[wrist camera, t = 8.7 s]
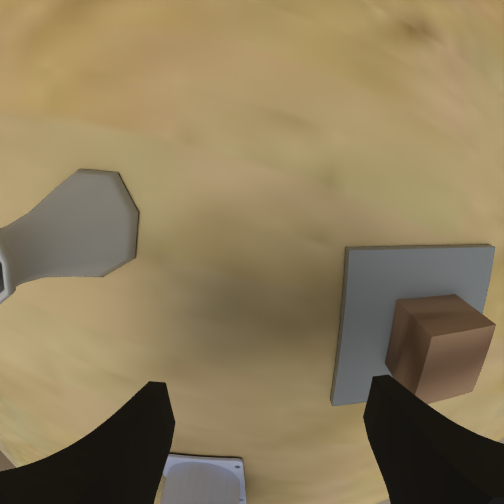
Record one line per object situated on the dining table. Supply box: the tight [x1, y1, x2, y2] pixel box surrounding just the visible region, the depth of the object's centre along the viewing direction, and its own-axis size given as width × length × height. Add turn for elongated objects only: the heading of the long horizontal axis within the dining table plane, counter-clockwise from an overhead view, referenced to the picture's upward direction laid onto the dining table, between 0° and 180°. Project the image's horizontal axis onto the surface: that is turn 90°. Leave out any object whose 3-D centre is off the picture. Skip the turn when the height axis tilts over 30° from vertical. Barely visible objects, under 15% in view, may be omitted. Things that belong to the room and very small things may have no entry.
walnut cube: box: [385, 294, 496, 404], centre depth 17 cm, size 5×5×5 cm
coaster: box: [330, 244, 495, 406], centre depth 20 cm, size 12×12×1 cm
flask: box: [0, 169, 138, 304], centre depth 14 cm, size 7×7×10 cm
